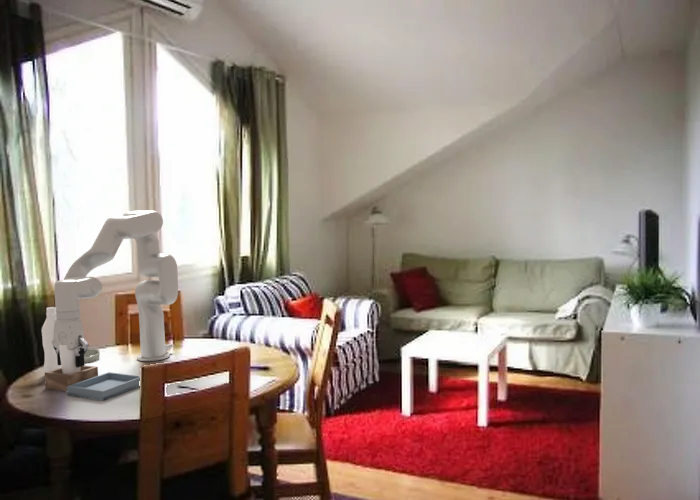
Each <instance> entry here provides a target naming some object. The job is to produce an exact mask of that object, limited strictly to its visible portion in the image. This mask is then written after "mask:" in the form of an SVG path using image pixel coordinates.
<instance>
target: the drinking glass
mask: <svg viewBox="0 0 700 500" xmlns="http://www.w3.org/2000/svg"><path fill="white" fill-rule="evenodd" d="M78 346H79V345H77V347H78ZM78 350H79V351H80V349H78ZM59 352H60V360H61V367H62V373H63V374H73V373H76V372H80V371H81V367H78V368H77V367H76V360H75V356H77V355H76V353H75V351H74V349H73V350H69V349H67V345H61V344H60V345H59Z"/></svg>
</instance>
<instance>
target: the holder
mask: <svg viewBox="0 0 700 500" xmlns="http://www.w3.org/2000/svg"><path fill="white" fill-rule="evenodd" d="M98 368H99V367H98V366H93V365H86V364H85V365H84V366H82V367H81V371H80V372H76V373H73V374H63V373H62V367H61V368H58V369H55V370H51V371H48V372H45V371H44V382H45V383H44V385H45V386H44V387H45V389H48V390H54V391H62V392H67V386H69V385H72V384H75V383H78V382H81V381H84V380H87V379H90V378H93V377H96V376H99V369H98Z"/></svg>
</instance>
